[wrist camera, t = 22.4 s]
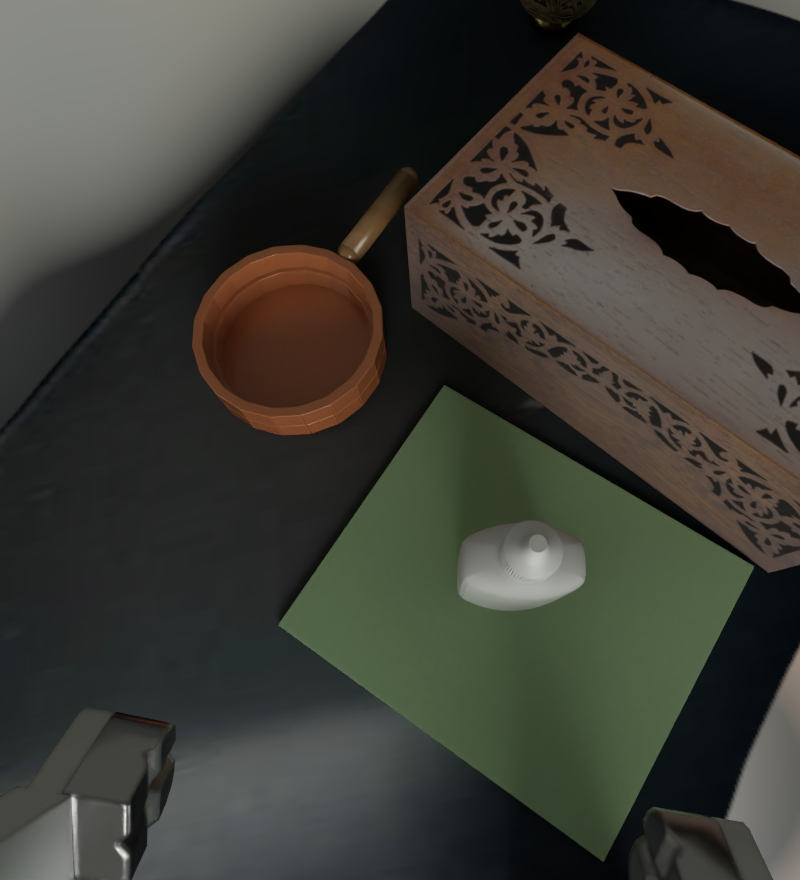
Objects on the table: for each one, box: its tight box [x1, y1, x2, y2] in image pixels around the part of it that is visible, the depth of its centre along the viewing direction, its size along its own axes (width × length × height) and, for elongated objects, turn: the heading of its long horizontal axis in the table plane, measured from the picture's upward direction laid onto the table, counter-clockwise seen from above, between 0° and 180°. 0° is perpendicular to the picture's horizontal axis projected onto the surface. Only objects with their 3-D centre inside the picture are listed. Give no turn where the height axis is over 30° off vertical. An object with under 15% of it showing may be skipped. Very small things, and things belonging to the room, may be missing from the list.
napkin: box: [278, 385, 754, 862], centre depth 36 cm, size 17×20×1 cm
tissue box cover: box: [404, 33, 800, 573], centre depth 36 cm, size 26×14×10 cm, turn 49°
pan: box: [192, 245, 387, 435], centre depth 40 cm, size 11×11×4 cm
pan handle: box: [337, 167, 419, 265], centre depth 41 cm, size 8×2×2 cm, turn 146°
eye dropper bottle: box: [457, 520, 586, 611], centre depth 31 cm, size 4×6×12 cm
